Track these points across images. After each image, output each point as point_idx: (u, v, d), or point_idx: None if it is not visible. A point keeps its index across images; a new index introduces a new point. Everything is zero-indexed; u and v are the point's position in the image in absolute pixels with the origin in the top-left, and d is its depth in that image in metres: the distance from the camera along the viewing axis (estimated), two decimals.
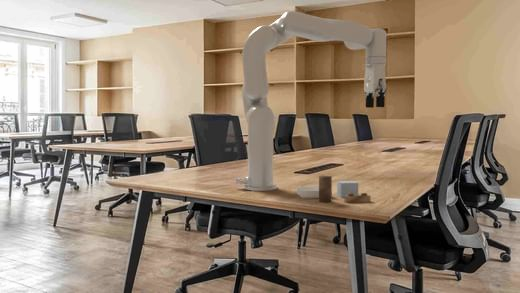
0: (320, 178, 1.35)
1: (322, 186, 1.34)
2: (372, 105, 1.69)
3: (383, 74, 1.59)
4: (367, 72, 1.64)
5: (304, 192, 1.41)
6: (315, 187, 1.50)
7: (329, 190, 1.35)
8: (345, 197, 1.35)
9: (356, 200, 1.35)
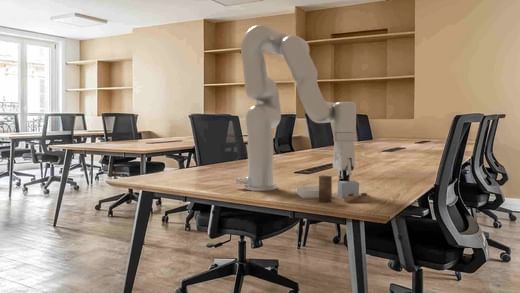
0: (320, 178, 1.35)
1: (322, 186, 1.34)
2: None
3: (352, 153, 1.43)
4: (335, 148, 1.48)
5: (304, 192, 1.41)
6: (315, 187, 1.50)
7: (329, 190, 1.35)
8: (345, 197, 1.35)
9: (356, 200, 1.35)
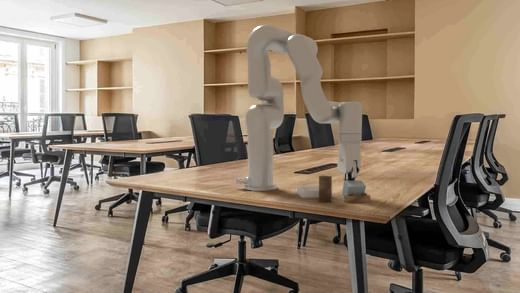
0: (320, 178, 1.35)
1: (322, 186, 1.34)
2: None
3: (358, 155, 1.38)
4: (340, 149, 1.43)
5: (304, 192, 1.41)
6: (315, 187, 1.50)
7: (329, 190, 1.35)
8: (345, 197, 1.35)
9: (356, 200, 1.35)
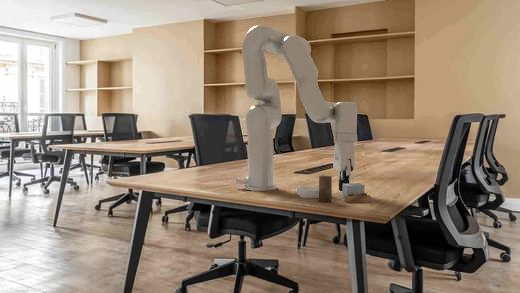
0: (320, 178, 1.35)
1: (322, 186, 1.34)
2: None
3: (352, 153, 1.42)
4: (336, 148, 1.47)
5: (304, 192, 1.41)
6: (315, 187, 1.50)
7: (329, 190, 1.35)
8: (345, 197, 1.35)
9: (356, 200, 1.35)
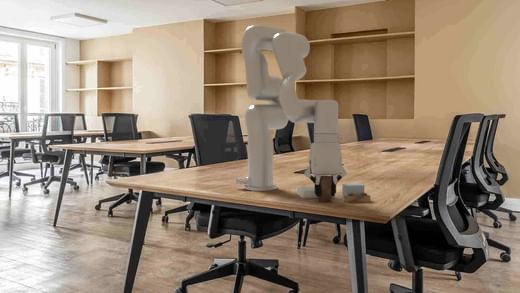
0: (320, 178, 1.35)
1: (322, 186, 1.34)
2: None
3: (311, 155, 1.34)
4: None
5: (304, 192, 1.41)
6: None
7: (329, 190, 1.35)
8: (345, 197, 1.35)
9: (356, 200, 1.35)
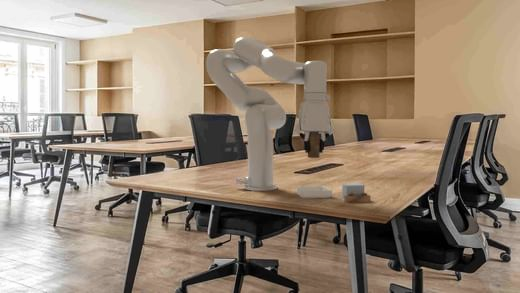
0: (309, 135, 1.44)
1: (311, 142, 1.43)
2: (320, 150, 1.44)
3: (301, 113, 1.42)
4: None
5: (304, 192, 1.41)
6: (315, 187, 1.50)
7: (317, 146, 1.43)
8: (345, 197, 1.35)
9: (356, 200, 1.35)
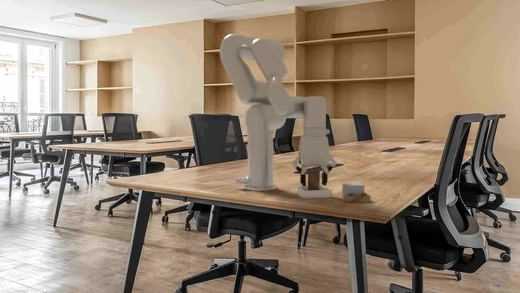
0: (309, 172, 1.45)
1: (311, 179, 1.44)
2: (323, 183, 1.45)
3: (301, 148, 1.43)
4: None
5: (304, 192, 1.41)
6: None
7: (317, 183, 1.44)
8: (345, 197, 1.35)
9: (356, 200, 1.35)
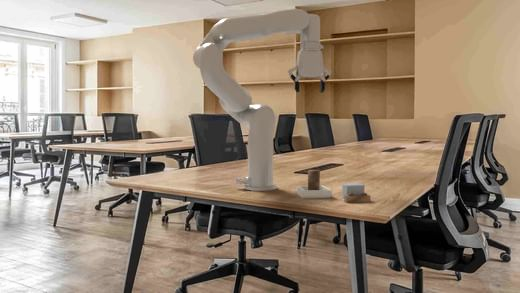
0: (309, 172, 1.45)
1: (311, 179, 1.44)
2: (321, 90, 1.65)
3: (298, 60, 1.63)
4: None
5: (304, 192, 1.41)
6: None
7: (317, 183, 1.44)
8: (345, 197, 1.35)
9: (356, 200, 1.35)
